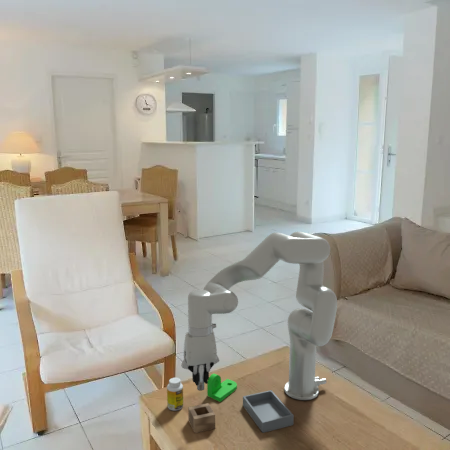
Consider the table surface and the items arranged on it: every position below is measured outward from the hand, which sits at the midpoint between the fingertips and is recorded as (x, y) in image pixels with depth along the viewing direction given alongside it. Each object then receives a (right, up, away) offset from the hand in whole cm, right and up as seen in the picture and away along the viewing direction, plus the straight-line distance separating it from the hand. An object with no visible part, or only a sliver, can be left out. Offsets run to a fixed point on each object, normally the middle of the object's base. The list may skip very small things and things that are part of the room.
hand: (200, 382), depth 149 cm
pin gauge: (0, -2, 0) cm, 2 cm away
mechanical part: (+8, -12, +22) cm, 26 cm away
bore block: (0, -15, +3) cm, 15 cm away
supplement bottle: (-10, -13, +13) cm, 21 cm away
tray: (+22, -14, +8) cm, 28 cm away
